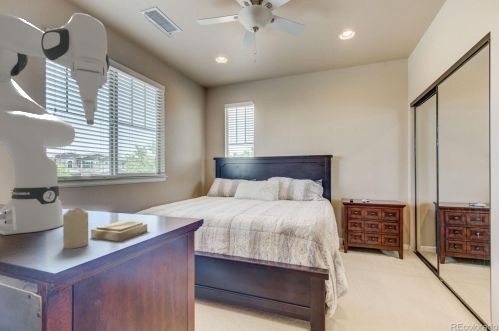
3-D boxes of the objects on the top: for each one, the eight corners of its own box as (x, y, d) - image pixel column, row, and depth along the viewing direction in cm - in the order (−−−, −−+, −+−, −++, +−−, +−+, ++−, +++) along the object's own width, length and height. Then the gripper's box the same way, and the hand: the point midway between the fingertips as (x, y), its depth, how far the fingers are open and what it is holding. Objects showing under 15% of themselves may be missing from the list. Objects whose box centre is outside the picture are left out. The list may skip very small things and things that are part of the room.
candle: (74, 242, 70) (74, 206, 70) (93, 242, 69) (92, 206, 69) (57, 248, 64) (57, 210, 64) (77, 249, 64) (77, 210, 64)
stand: (91, 237, 74) (90, 227, 74) (120, 228, 84) (120, 219, 84) (120, 241, 71) (120, 230, 71) (147, 231, 81) (147, 222, 81)
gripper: (78, 82, 78) (78, 126, 78) (73, 58, 61) (73, 114, 61) (101, 85, 82) (102, 127, 82) (103, 63, 64) (103, 117, 64)
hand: (89, 122), depth 71 cm, fingers open, 8 cm apart
